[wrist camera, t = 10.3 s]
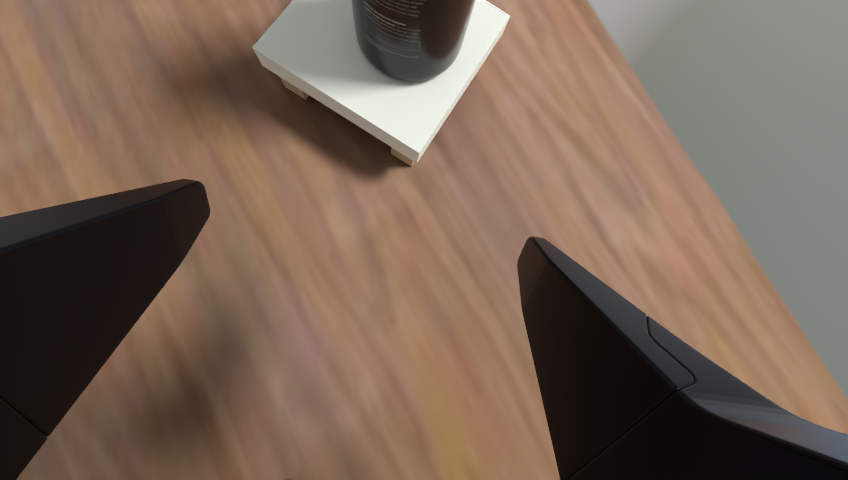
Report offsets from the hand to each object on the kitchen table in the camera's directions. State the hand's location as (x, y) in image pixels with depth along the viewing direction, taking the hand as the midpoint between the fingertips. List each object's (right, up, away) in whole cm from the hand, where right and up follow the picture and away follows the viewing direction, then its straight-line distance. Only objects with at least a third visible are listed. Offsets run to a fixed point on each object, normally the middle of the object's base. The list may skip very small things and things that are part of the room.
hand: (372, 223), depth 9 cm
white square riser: (-1, +12, +16) cm, 20 cm away
